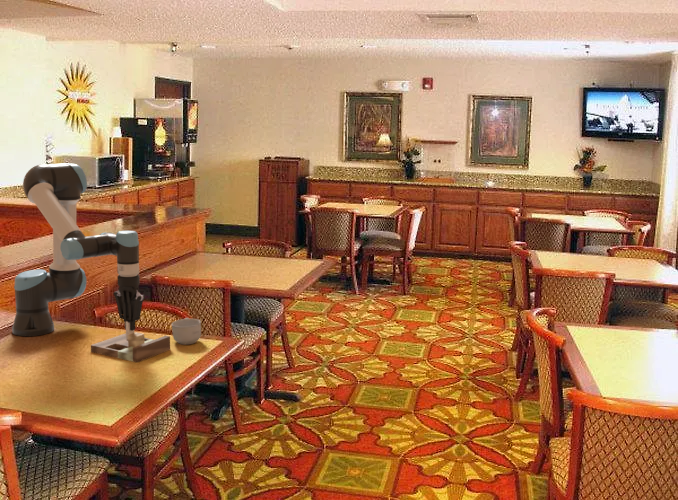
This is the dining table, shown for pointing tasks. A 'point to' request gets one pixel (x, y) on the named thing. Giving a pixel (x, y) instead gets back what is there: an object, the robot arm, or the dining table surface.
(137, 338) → the block
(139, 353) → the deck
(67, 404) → the dining table surface
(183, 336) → the teacup
